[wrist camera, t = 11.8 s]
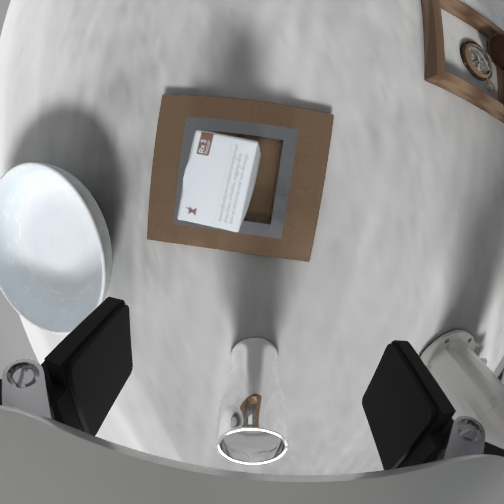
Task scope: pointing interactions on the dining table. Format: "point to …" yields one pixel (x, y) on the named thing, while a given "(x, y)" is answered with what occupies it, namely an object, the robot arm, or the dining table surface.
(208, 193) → the skincare box
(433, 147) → the dining table surface
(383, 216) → the dining table surface
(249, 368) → the beer glass
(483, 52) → the compass
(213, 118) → the board with square socket
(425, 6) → the square wooden tray
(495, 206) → the dining table surface
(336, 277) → the dining table surface
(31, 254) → the serving bowl
